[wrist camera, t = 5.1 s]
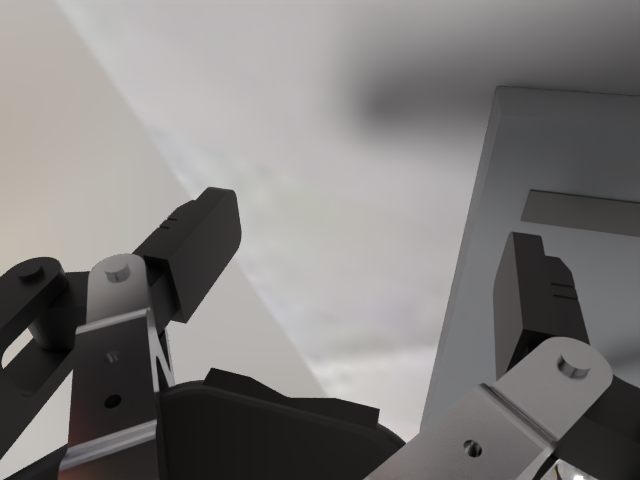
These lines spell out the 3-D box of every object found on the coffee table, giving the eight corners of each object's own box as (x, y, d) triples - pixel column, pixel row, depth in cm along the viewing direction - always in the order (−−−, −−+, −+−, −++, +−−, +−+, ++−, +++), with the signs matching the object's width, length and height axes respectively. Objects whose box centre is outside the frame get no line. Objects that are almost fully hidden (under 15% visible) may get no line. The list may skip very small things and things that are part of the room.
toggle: (540, 379, 18) (571, 460, 14) (584, 388, 17) (629, 474, 13) (531, 413, 18) (558, 501, 14) (573, 422, 18) (614, 516, 14)
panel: (496, 86, 16) (502, 123, 13) (797, 107, 14) (883, 156, 11) (420, 427, 29) (414, 484, 26) (570, 464, 27) (581, 530, 24)
